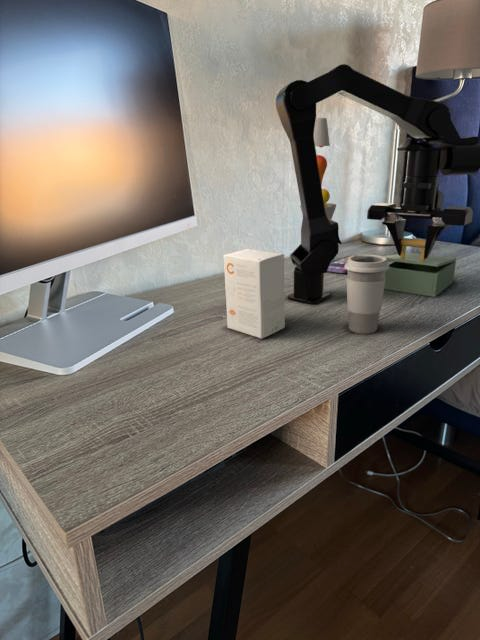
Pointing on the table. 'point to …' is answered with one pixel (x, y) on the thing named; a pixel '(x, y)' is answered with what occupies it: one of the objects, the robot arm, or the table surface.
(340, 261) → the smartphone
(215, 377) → the table surface
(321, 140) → the lava lamp
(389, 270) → the desk box
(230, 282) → the small box
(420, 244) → the box lid
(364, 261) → the cup
